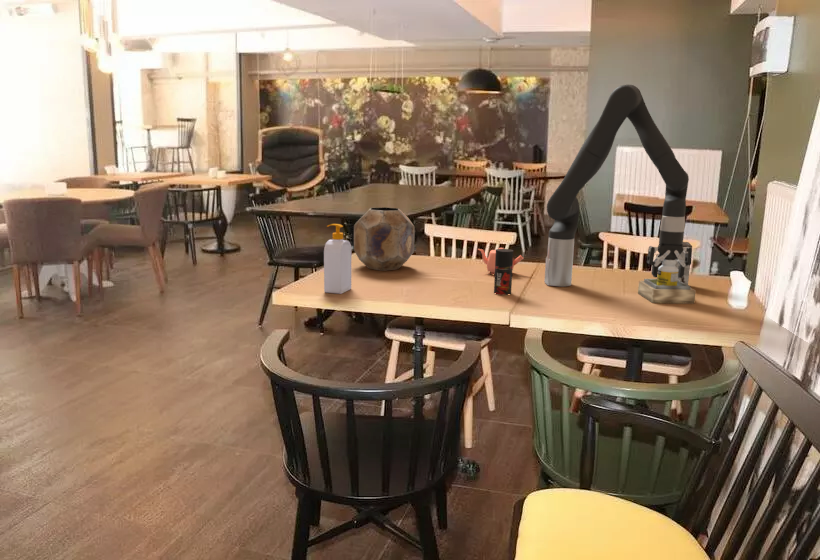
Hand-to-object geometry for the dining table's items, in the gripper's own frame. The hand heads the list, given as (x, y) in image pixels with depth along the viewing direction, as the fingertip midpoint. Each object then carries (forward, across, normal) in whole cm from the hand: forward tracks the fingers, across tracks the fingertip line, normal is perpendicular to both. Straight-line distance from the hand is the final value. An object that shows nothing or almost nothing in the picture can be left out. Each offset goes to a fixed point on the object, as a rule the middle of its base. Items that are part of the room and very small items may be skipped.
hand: (667, 277), depth 230 cm
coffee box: (+8, +12, +20) cm, 25 cm away
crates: (+7, 0, 0) cm, 7 cm away
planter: (+8, -97, +47) cm, 108 cm away
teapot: (+8, -51, +39) cm, 65 cm away
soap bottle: (+8, -112, +4) cm, 112 cm away
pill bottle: (+6, 0, 0) cm, 6 cm away
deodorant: (+8, -55, +4) cm, 56 cm away
